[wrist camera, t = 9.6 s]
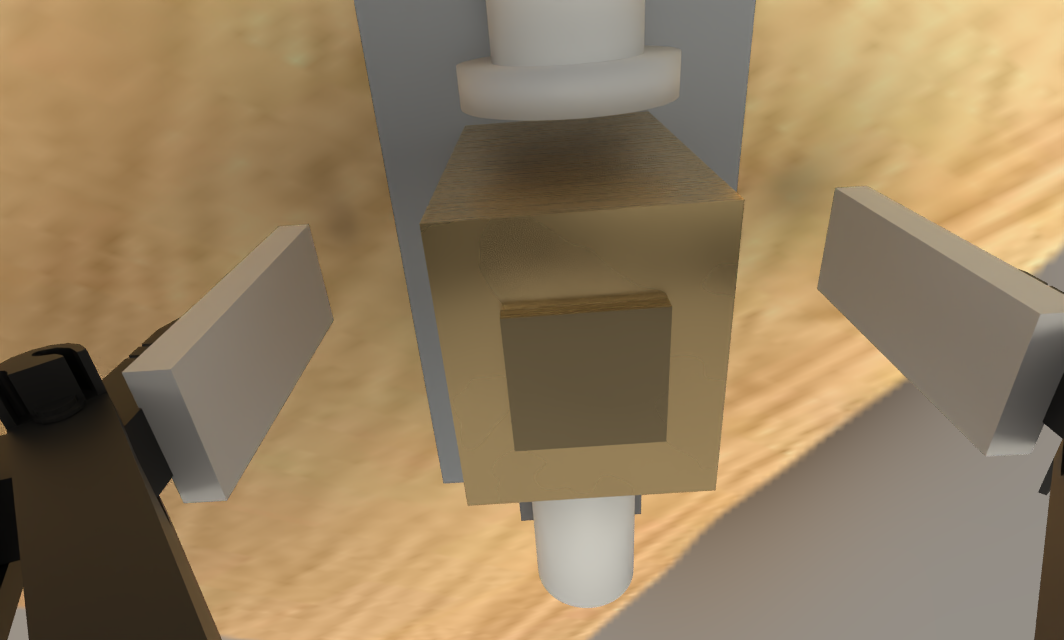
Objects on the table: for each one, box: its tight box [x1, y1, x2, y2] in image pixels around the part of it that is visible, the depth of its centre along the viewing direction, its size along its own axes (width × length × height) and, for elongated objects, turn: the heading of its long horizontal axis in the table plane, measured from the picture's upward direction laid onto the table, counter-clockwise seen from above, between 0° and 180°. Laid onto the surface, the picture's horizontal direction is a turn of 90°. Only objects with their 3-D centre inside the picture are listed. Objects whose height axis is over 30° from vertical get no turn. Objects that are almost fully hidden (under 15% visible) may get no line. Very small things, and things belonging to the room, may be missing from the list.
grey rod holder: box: [354, 0, 756, 608], centre depth 15 cm, size 10×20×8 cm, turn 4°
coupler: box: [419, 111, 744, 506], centre depth 14 cm, size 5×6×8 cm
